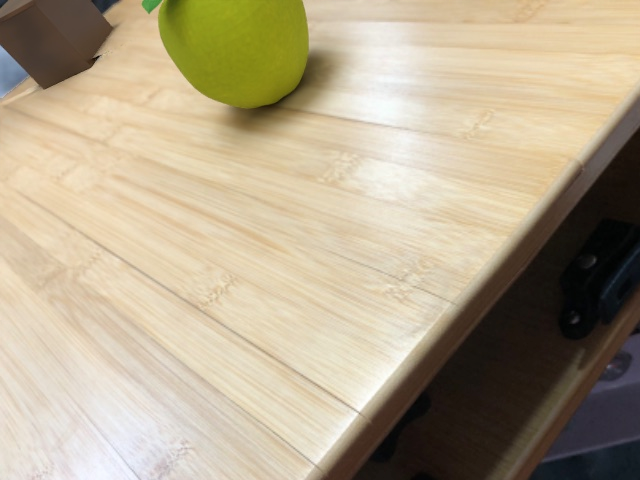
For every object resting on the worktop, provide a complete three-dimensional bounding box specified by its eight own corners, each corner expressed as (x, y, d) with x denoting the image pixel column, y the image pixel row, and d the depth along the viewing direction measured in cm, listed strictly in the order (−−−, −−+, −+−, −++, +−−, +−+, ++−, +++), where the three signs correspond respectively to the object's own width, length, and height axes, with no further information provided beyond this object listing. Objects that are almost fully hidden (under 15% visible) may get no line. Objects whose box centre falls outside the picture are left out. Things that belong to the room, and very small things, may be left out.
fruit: (203, 146, 44) (97, 18, 38) (256, 65, 49) (171, -61, 42) (306, 125, 40) (206, -25, 33) (353, 38, 45) (275, -109, 38)
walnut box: (41, 91, 72) (-20, 28, 67) (70, 53, 77) (15, -8, 72) (91, 67, 69) (32, 0, 64) (118, 30, 74) (65, -36, 69)
